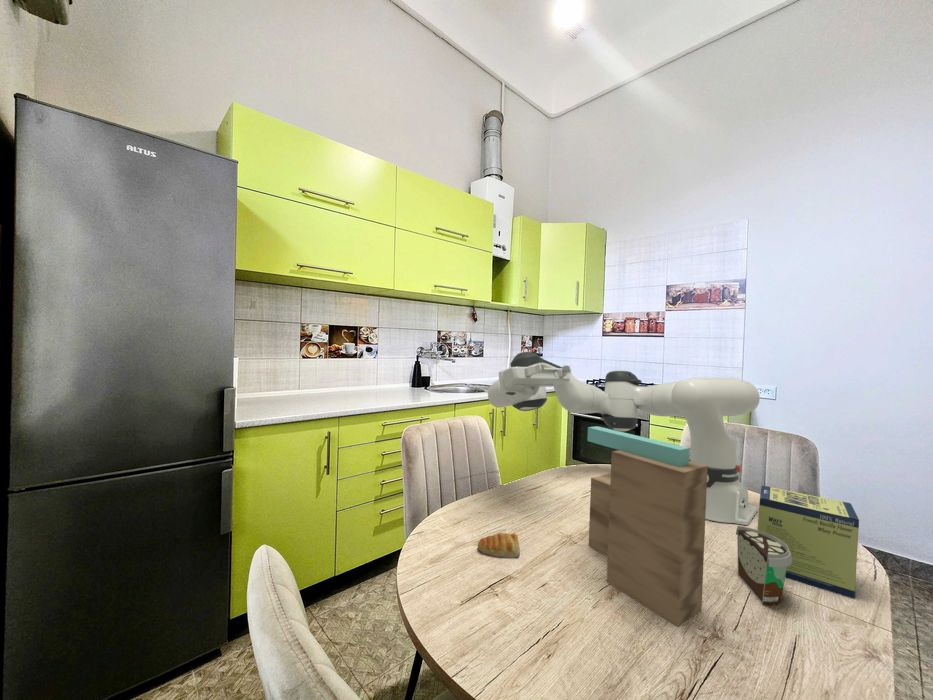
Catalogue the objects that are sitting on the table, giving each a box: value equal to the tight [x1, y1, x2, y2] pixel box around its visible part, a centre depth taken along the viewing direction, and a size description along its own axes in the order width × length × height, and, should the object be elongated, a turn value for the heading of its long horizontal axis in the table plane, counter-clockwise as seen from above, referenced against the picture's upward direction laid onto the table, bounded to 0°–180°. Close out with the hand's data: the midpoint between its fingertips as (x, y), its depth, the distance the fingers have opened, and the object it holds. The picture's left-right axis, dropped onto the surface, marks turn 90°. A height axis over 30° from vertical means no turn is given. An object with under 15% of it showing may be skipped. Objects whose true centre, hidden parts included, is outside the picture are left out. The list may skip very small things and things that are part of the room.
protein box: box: [756, 485, 860, 599], centre depth 82 cm, size 10×16×16 cm
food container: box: [735, 525, 792, 607], centre depth 75 cm, size 12×6×10 cm, turn 168°
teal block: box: [586, 425, 690, 467], centre depth 76 cm, size 3×20×3 cm, turn 33°
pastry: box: [477, 532, 521, 559], centre depth 87 cm, size 9×7×4 cm
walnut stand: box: [588, 449, 707, 627], centre depth 80 cm, size 18×25×26 cm
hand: (555, 367), depth 101 cm, fingers open, 8 cm apart
